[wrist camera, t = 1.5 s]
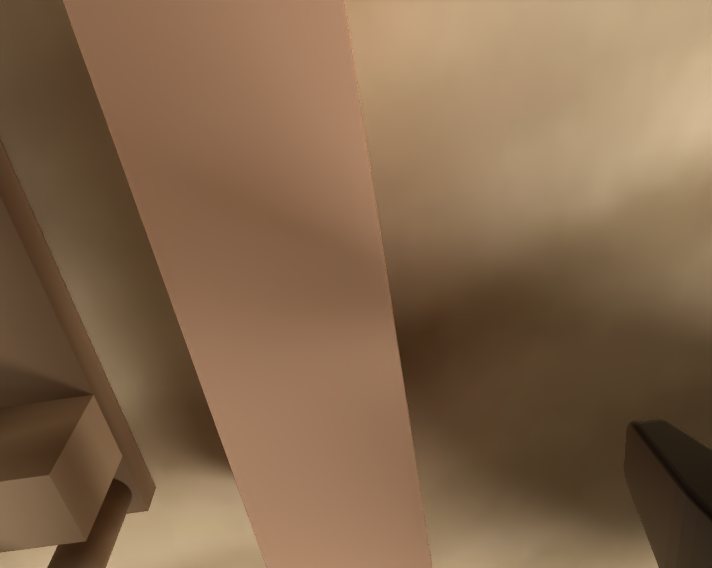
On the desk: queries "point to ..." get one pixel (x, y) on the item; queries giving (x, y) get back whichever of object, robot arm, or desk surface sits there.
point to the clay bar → (270, 259)
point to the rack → (56, 409)
